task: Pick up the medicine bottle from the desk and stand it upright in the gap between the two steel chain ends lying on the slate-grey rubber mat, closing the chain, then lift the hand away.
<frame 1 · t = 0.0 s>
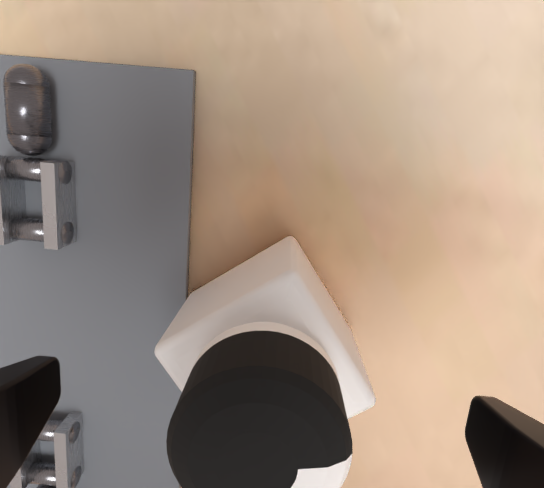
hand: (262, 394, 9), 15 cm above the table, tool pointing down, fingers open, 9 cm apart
chain ends: (40, 336, 23), on the rubber mat, point 1 cm above the table
medicine bottle: (271, 311, 24), on the table
rubber mat: (55, 324, 25), on the table
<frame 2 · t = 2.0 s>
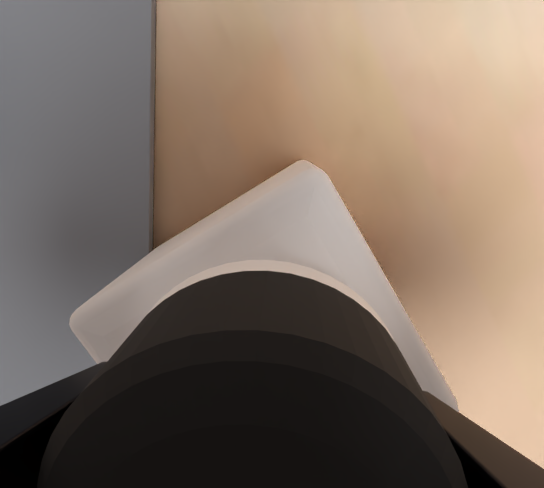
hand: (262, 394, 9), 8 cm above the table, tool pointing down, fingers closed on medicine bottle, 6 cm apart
medicine bottle: (274, 276, 17), on the table, touching gripper
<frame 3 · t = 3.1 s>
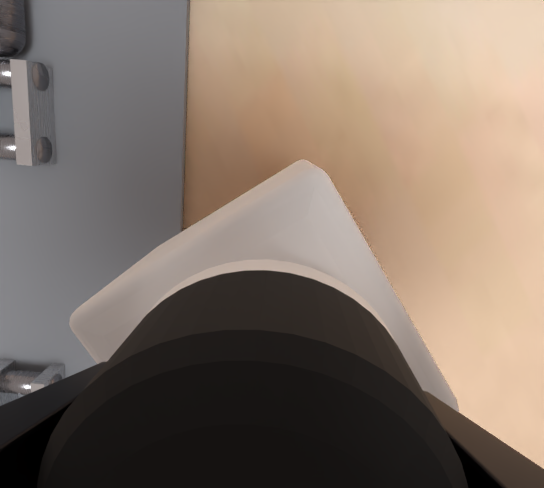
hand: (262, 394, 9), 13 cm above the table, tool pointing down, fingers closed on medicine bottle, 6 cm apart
chain ends: (15, 272, 20), on the rubber mat, point 1 cm above the table
medicine bottle: (274, 276, 17), point 5 cm above the table, touching gripper
rubber mat: (33, 264, 22), on the table
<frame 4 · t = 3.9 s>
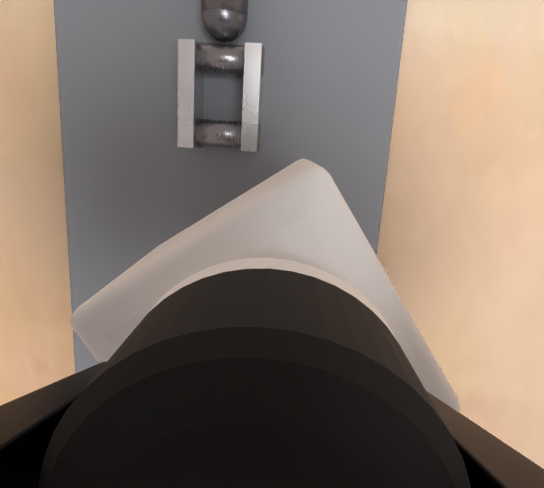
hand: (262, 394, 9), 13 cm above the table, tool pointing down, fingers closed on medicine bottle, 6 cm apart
chain ends: (217, 263, 20), on the rubber mat
medicine bottle: (274, 275, 17), point 5 cm above the table, touching gripper
rubber mat: (221, 255, 22), on the table
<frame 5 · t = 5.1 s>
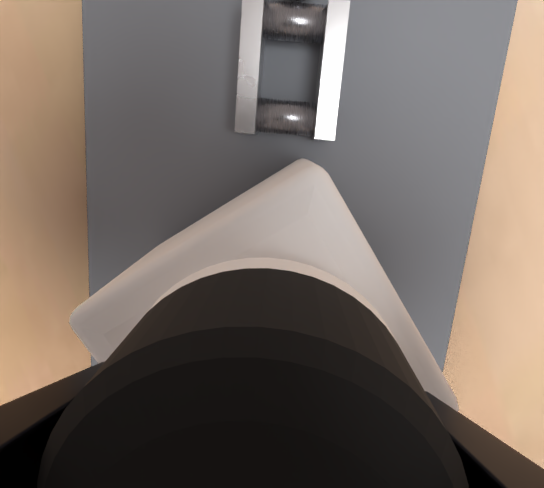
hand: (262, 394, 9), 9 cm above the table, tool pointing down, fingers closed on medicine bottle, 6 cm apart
chain ends: (272, 276, 16), on the rubber mat, point 1 cm above the table
medicine bottle: (274, 275, 17), point 1 cm above the table, touching gripper
rubber mat: (273, 266, 18), on the table
when the fingers open (9 cm above the table, at t = 5.9 s): medicine bottle stays where it is, resting on rubber mat.
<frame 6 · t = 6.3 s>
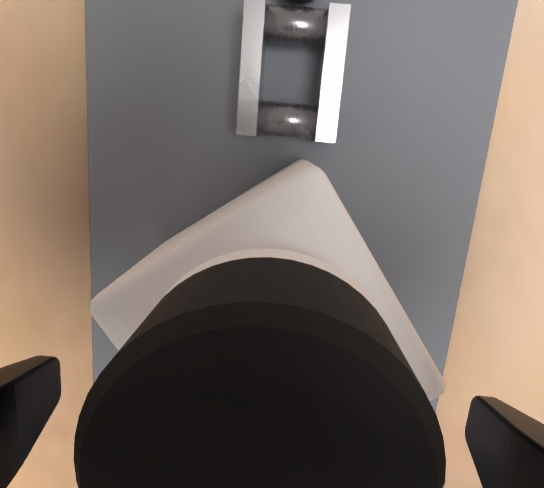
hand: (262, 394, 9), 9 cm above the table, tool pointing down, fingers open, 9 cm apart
chain ends: (273, 278, 17), on the rubber mat, point 1 cm above the table
medicine bottle: (275, 270, 18), resting on rubber mat
rubber mat: (274, 267, 18), on the table
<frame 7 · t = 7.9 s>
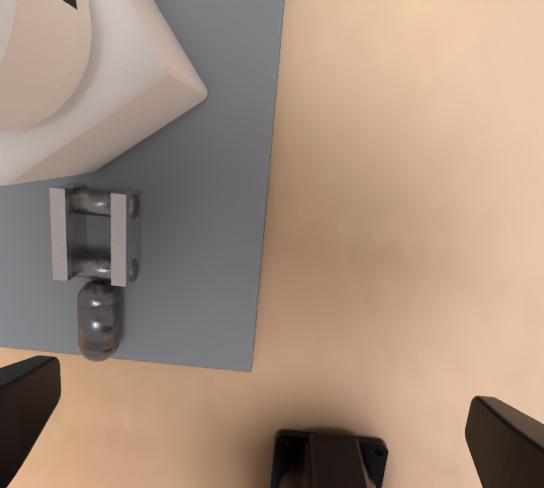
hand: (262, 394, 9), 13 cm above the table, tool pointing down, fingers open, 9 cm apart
chain ends: (96, 64, 18), on the rubber mat, point 1 cm above the table
medicine bottle: (108, 69, 19), resting on rubber mat
rubber mat: (110, 70, 19), on the table
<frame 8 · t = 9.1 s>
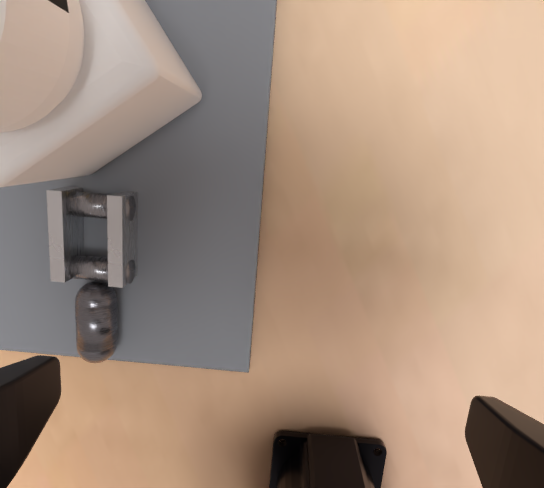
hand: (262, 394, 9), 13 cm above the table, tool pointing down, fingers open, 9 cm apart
chain ends: (91, 68, 18), on the rubber mat, point 1 cm above the table
medicine bottle: (104, 73, 19), resting on rubber mat
rubber mat: (106, 74, 20), on the table
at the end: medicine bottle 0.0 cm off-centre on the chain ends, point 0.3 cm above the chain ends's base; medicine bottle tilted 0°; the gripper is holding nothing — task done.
